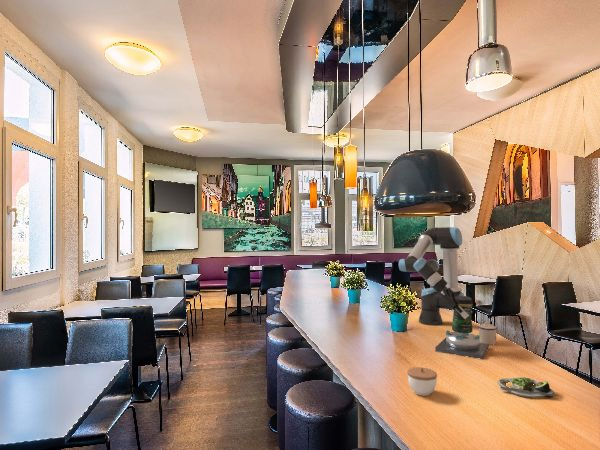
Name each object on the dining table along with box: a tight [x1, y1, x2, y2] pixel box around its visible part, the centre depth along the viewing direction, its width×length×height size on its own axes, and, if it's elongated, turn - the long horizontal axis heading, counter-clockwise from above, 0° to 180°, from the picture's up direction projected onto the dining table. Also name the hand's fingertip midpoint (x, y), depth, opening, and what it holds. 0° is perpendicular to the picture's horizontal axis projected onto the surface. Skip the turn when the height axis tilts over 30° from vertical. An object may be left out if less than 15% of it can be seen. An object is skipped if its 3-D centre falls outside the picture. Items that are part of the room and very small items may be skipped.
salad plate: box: [497, 376, 558, 399], centre depth 146 cm, size 19×18×5 cm
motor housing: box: [434, 330, 490, 360], centre depth 196 cm, size 22×22×8 cm
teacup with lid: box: [477, 321, 497, 346], centre depth 210 cm, size 12×9×12 cm
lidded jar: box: [407, 366, 438, 397], centre depth 143 cm, size 11×11×9 cm
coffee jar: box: [451, 295, 474, 334], centre depth 196 cm, size 10×8×19 cm
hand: (468, 315), depth 194 cm, fingers closed on coffee jar, 9 cm apart
